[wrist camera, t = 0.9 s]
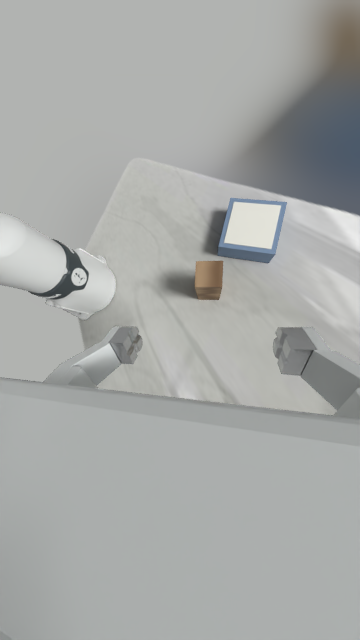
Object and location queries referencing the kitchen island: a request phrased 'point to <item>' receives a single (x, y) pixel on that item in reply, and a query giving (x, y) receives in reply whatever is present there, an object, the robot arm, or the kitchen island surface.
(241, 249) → the pedestal
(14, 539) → the robot arm
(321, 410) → the kitchen island surface
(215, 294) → the walnut block
